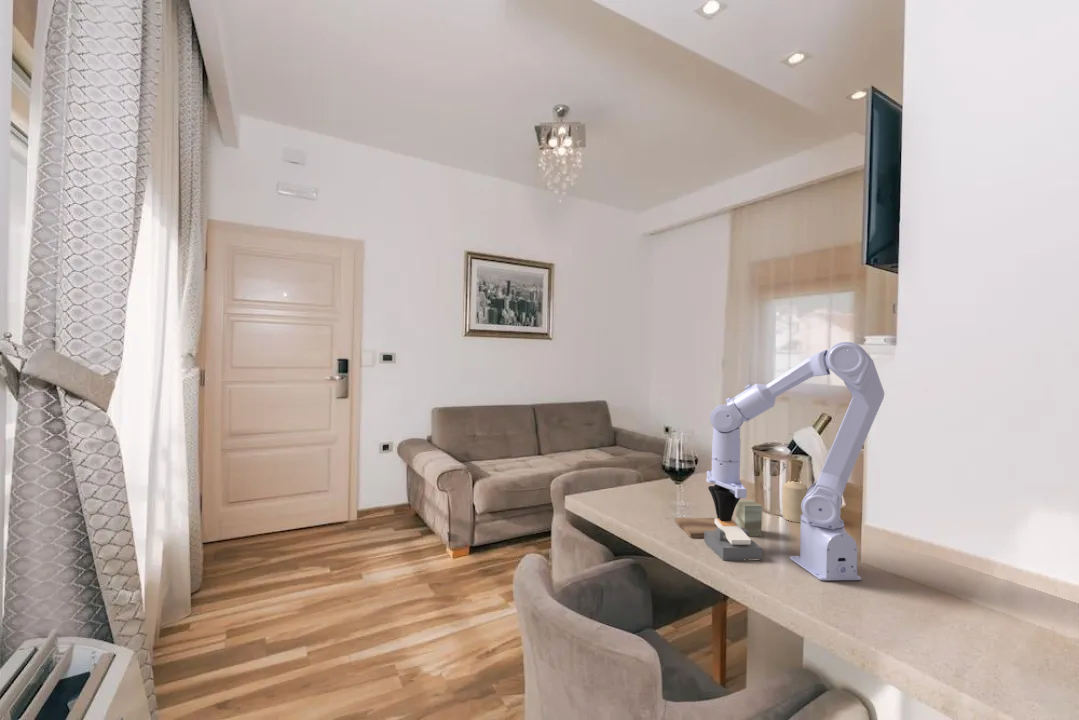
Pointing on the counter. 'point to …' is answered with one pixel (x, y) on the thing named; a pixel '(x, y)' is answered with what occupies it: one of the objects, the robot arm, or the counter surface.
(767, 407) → the robot arm
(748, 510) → the block
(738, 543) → the rocker
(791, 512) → the candle
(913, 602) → the counter surface
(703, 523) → the walnut board
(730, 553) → the switch base
